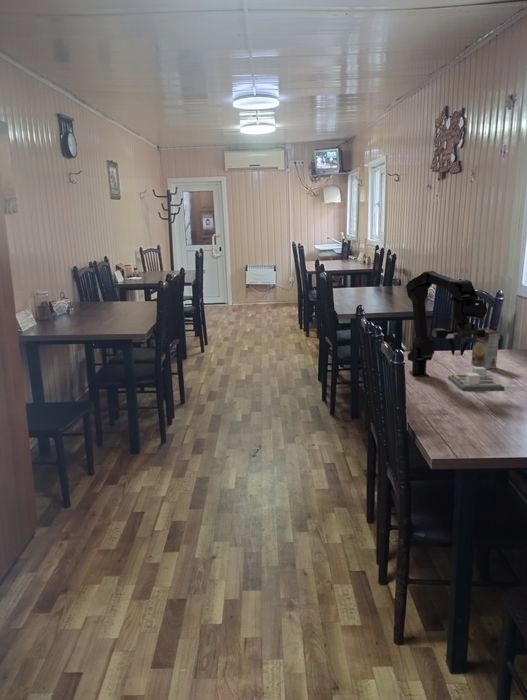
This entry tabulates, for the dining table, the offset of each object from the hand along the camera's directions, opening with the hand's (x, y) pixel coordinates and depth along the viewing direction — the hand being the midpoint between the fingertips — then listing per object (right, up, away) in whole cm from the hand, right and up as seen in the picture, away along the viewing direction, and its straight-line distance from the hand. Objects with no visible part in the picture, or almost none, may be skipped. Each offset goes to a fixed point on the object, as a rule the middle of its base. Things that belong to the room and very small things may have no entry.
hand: (457, 355), depth 214 cm
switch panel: (+10, -11, +7) cm, 17 cm away
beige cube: (+7, -11, +3) cm, 13 cm away
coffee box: (+23, -5, +34) cm, 41 cm away
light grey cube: (+13, -9, +12) cm, 19 cm away
